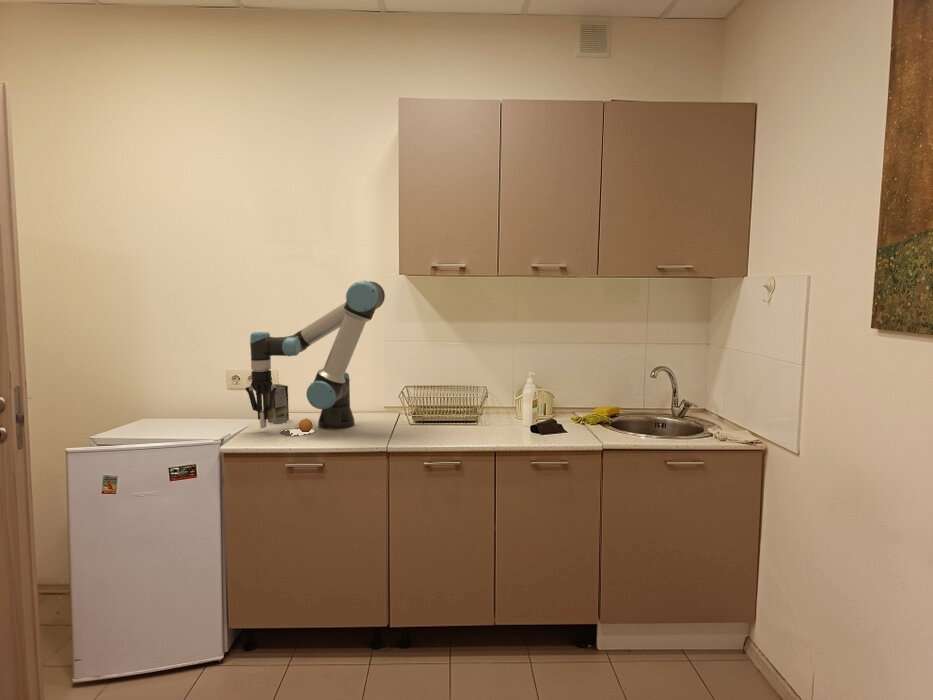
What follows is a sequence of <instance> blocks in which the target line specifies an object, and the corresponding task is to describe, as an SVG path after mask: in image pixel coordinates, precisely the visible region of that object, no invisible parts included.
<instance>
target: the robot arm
mask: <svg viewBox="0 0 933 700" xmlns="http://www.w3.org/2000/svg"><path fill="white" fill-rule="evenodd" d="M345 294H346V295H345V300H346V301H345V302H344V303H342V304H341V305H339V306H338V307H337V306H336V307H335V308H334V309H332V310H331V311H329V312H327V313H326V314H325V315H323V316H321V317H319V318H318V319H316V320H315V321H313V322H312V323H310V324H309V325H307V326H306V327H303V328H302V329H300V330H298V331H297V332H296V333H294V334H292V335H289V336H279V337H274V336H271V335H270V332H269V331H256V332H255V331H254V332H252V333H250V336H249V337H250V340H249V342H250V343H249V346H250V366H251V367H250V369H251V370H252V371H250V372H251V383H250V385H249V386H247V387H245V391H246V392H247V395H248V397H249V401H250V404H251V409H252V411H253V412H254V411H255V412H257V420H259V422H260V423H259V424H260V425H259V426H260V429H265V428H267V419H268V411H270V410H272V409H273V405H274V400H275V395H276V392H277V390H278V387H275V386H274V384H273V382H272V371H271V368H272V360H271V359H272V358H271V357H272V356H275V357H276V356H278V357H279V356H280V357H282V356H283V357H293V356H294V357H297V356H298V355H299V354H300V353H302V352H304V351H305V350H307V348H308V347H310V346H311V345H313V344H314V343H316V342H318V341H320V340H321V339H324V338H325V337H326V336H328V335H330V334H331V333H333V332H334V331H336V330H338V332H337V334H336V336H335V339H334V340H333V343H332V346H331V349H330V351H329V354H328V356H327V358H326V361H325V364H324V366H323V368H321V369H319V370H317V373H316V375H315V378H314V380H313V382H311V383H310V384H309V385H308V387H307V389H306V393H305V394H306V399H307V401H308V402H309V404H310V405H311V406H312V407H314V408H315V409H317V410H321V411H320V414H319V417H318V422H317V423H318V424H317V425H318V428H320V429H323V428H324V430H340V429H341V430H342V429H349V428H352V427H353V426H355V425H354V424H355V417H354V414H353V411H352V409H351V397H350V396H351V395H350V393H351V392H350V391H351V388H350V384H351V383H350V381H351V379H350V375H349V373H348V372H346V371H347V369H348V366H349V365H350V362H351V359H352V357H353V355H354V353H355V349H356V347H357V345H358V343H359V340H360V337H361V335H362V333H363V331H364V328H365V326H366V323H367V322H370V321H371V320H372V319H373V316H374V315H375V312H376V310H378V309H379V308H380V307H381V306H382V305H383V304H384V301H385V299H386V298H385V297H386V296H385V295H386V294H385V290H384V288H383V286H381V284H379V283H378V282H376V281H371V280H370V281H368V280H360V281H359V280H358V281H356V282H354V283H352V284H351V285H350V286H349V287H348V289H347V291H346V293H345ZM270 388H271V391H272V392H271V395H270V400H269V405H268V391H269V390H270ZM254 391H255V393H254ZM255 396H256V397H255Z"/></svg>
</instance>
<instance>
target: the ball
mask: <svg viewBox="0 0 933 700" xmlns="http://www.w3.org/2000/svg"><path fill="white" fill-rule="evenodd" d="M313 426H314V425H313V422H312V420H310V419H308V418H303V419H301V420H299V423H298V428H299V429H300V430H301V431H302V432H309V431H310V430H311V429H313Z"/></svg>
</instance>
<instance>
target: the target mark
mask: <svg viewBox="0 0 933 700" xmlns="http://www.w3.org/2000/svg"><path fill="white" fill-rule="evenodd" d="M287 429H288V428H287ZM287 429H283V430H281V431H279V433H280V434H281V435H280V434H279V435H280V436H283V435H284V437H292V436H291V435H292V434H293V433H291V434H290V431H289V430H287ZM285 430H287V431H285ZM308 435H311V434H310V433H309V434H308ZM303 436H307V435H306V434H304V435H303ZM293 437H300V436H299V435H298V434H297V435H294V436H293Z"/></svg>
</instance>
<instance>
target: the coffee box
mask: <svg viewBox="0 0 933 700" xmlns="http://www.w3.org/2000/svg"><path fill="white" fill-rule="evenodd" d="M273 385H274V386H275V387H278V390H277V392H276V395H275V400H274V405H273V409H272V410H270V411H268V419H267V420H268V421H267V420H266V421H267V422H269V421H271V422H270V423H272V422H273V423H272V424H275V423H279V424H283V423H282V422H286V423H288V422H287V421H289V422H290V415H289V414H290V413H289V411H290V410H289V386H288V385H285V384H280V383H276V384H273ZM271 392H272V391H271V388H270V390H269V391H268V405H269V400H270V395H271Z"/></svg>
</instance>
